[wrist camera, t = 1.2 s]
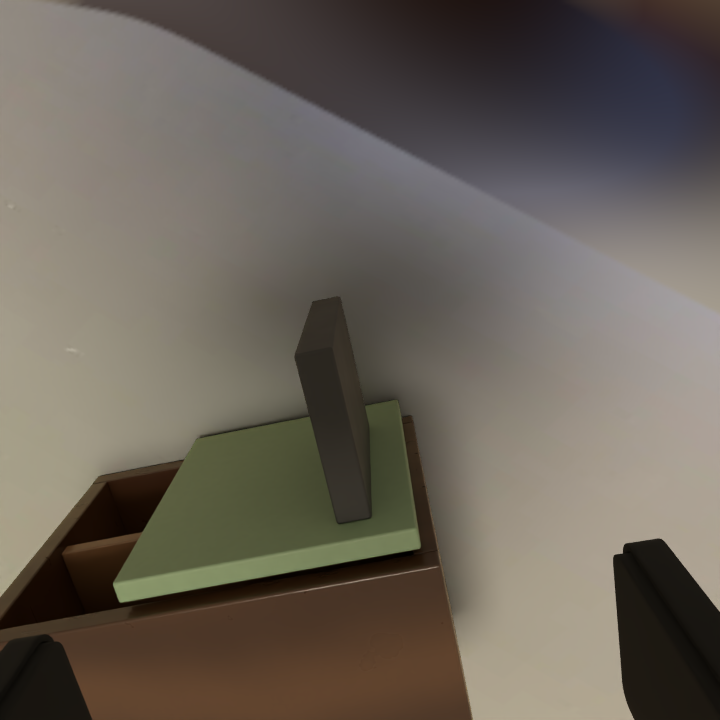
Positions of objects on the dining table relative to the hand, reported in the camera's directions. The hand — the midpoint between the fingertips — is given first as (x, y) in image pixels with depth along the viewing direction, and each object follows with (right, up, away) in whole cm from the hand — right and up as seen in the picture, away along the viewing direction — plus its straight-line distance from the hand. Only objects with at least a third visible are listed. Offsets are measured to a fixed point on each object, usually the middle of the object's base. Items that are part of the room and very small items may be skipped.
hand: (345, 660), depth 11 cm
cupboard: (-4, -5, +23) cm, 24 cm away
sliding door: (-3, +5, +20) cm, 20 cm away
